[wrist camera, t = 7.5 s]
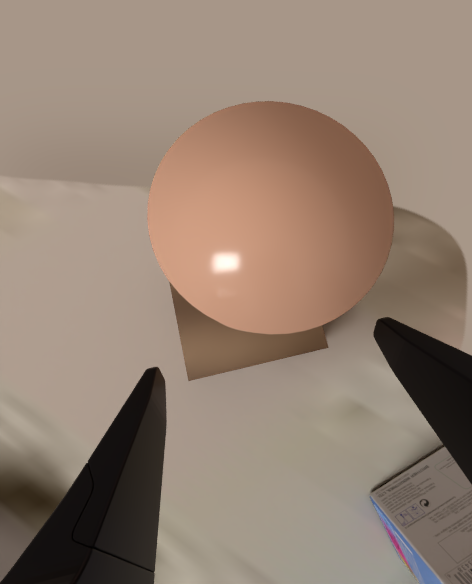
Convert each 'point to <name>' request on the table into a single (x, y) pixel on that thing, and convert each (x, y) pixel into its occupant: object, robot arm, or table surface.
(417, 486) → the ink cartridge box
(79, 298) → the table surface
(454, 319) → the table surface
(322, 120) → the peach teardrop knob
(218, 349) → the walnut plinth
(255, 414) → the table surface
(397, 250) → the table surface
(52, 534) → the robot arm
